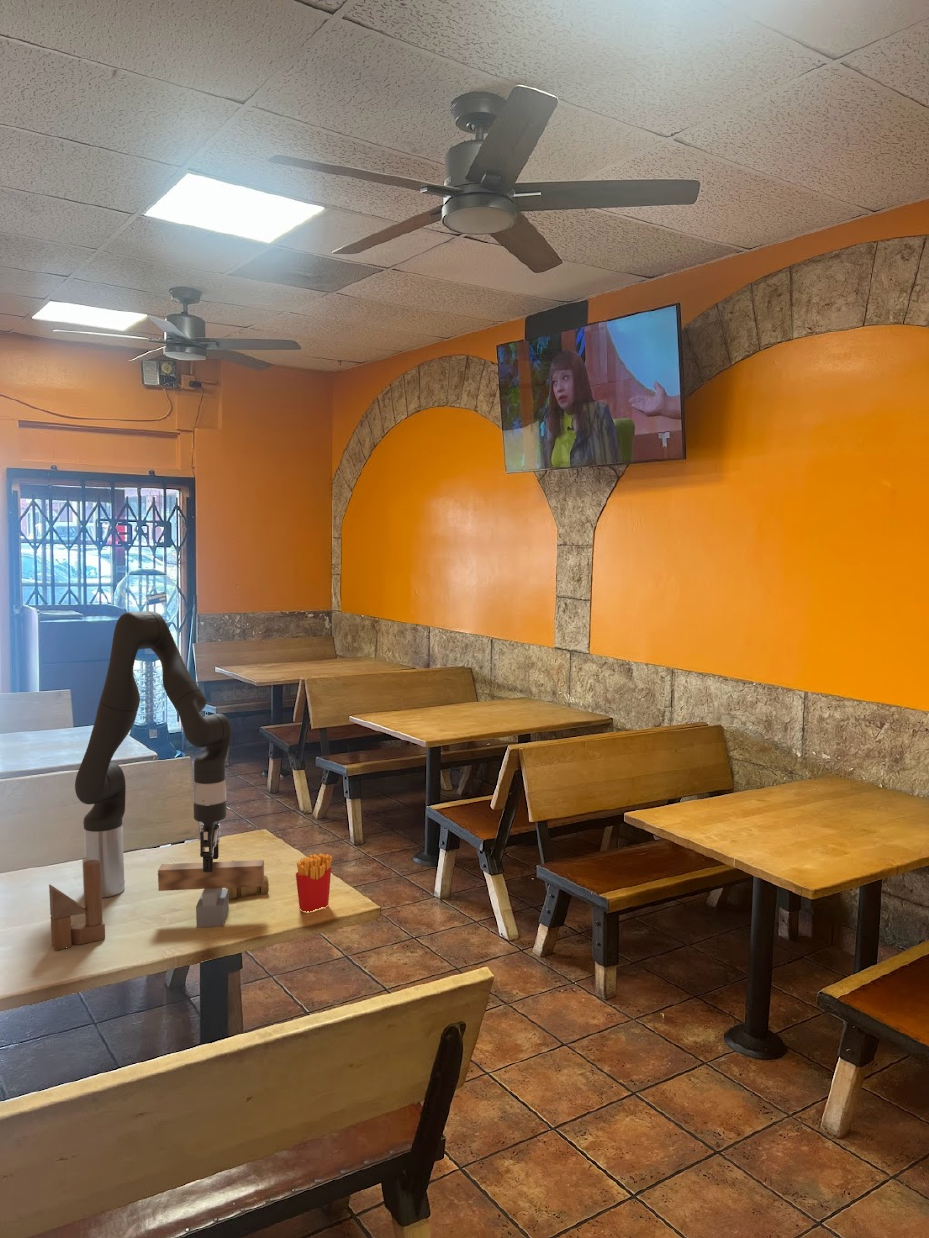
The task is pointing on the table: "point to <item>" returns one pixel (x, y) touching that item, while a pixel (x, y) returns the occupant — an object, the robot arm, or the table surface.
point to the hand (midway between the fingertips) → (211, 865)
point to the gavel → (248, 890)
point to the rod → (211, 875)
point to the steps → (212, 907)
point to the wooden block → (78, 911)
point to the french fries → (313, 881)
